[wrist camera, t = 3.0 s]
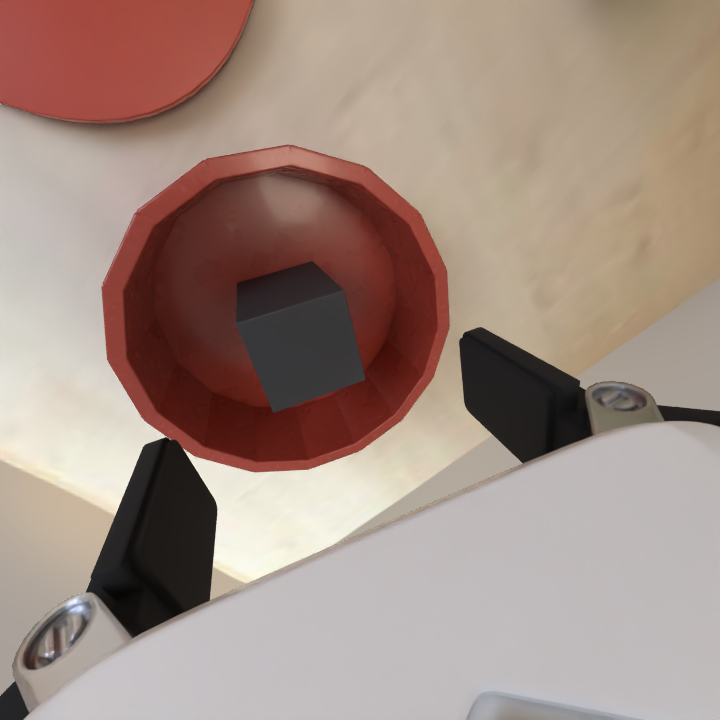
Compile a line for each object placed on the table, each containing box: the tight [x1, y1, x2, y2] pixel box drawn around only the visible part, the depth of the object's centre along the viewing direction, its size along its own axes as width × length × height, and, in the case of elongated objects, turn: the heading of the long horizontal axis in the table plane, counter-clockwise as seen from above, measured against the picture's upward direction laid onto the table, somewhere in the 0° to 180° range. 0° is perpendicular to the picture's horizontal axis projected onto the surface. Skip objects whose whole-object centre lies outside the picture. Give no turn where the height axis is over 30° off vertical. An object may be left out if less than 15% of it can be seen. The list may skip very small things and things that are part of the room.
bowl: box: [102, 145, 449, 472], centre depth 19 cm, size 15×15×6 cm
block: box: [236, 261, 366, 413], centre depth 18 cm, size 4×4×7 cm
